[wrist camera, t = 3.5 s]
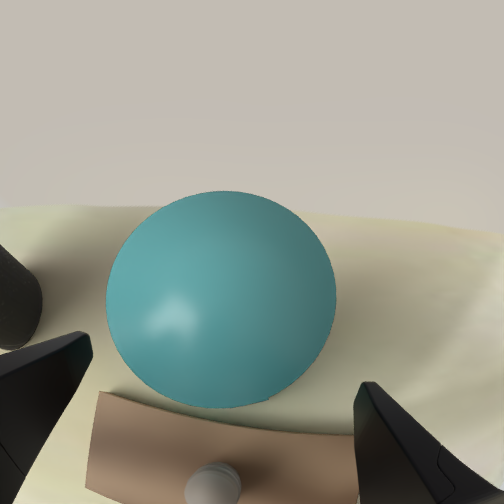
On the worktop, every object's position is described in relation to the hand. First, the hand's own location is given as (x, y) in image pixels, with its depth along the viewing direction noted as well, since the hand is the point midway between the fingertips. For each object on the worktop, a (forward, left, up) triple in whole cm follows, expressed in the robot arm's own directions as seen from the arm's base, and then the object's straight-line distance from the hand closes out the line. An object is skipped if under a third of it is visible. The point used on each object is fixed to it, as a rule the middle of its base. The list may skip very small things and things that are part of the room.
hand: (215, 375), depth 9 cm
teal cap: (+1, +2, -9) cm, 9 cm away
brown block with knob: (-2, -5, -9) cm, 11 cm away
